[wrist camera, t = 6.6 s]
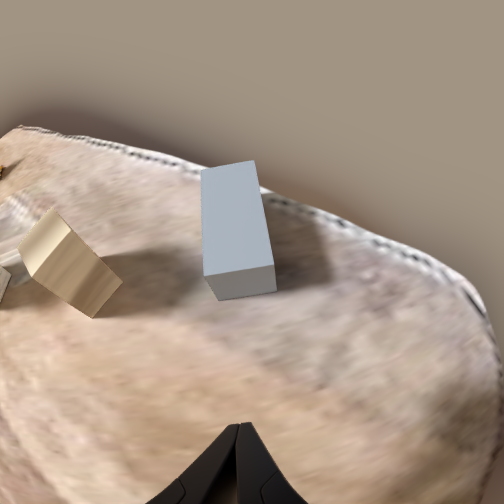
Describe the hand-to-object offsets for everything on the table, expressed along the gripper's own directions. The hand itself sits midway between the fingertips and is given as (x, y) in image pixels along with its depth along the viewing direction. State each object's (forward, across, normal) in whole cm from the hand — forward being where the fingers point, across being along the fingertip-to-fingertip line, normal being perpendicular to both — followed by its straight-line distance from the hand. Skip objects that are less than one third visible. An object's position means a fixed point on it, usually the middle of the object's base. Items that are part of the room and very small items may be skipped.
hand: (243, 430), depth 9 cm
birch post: (+18, -15, +2) cm, 24 cm away
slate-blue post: (+14, 0, +1) cm, 14 cm away
